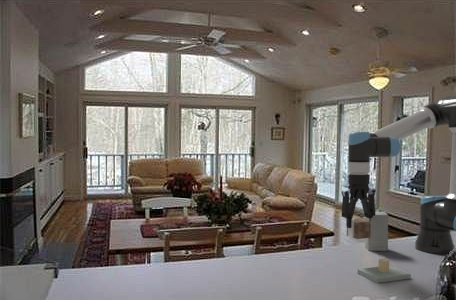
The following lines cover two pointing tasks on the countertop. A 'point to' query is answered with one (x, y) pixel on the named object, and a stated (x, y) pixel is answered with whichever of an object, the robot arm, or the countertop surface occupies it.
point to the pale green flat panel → (383, 272)
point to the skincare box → (378, 233)
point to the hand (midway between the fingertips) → (358, 235)
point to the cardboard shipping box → (361, 229)
